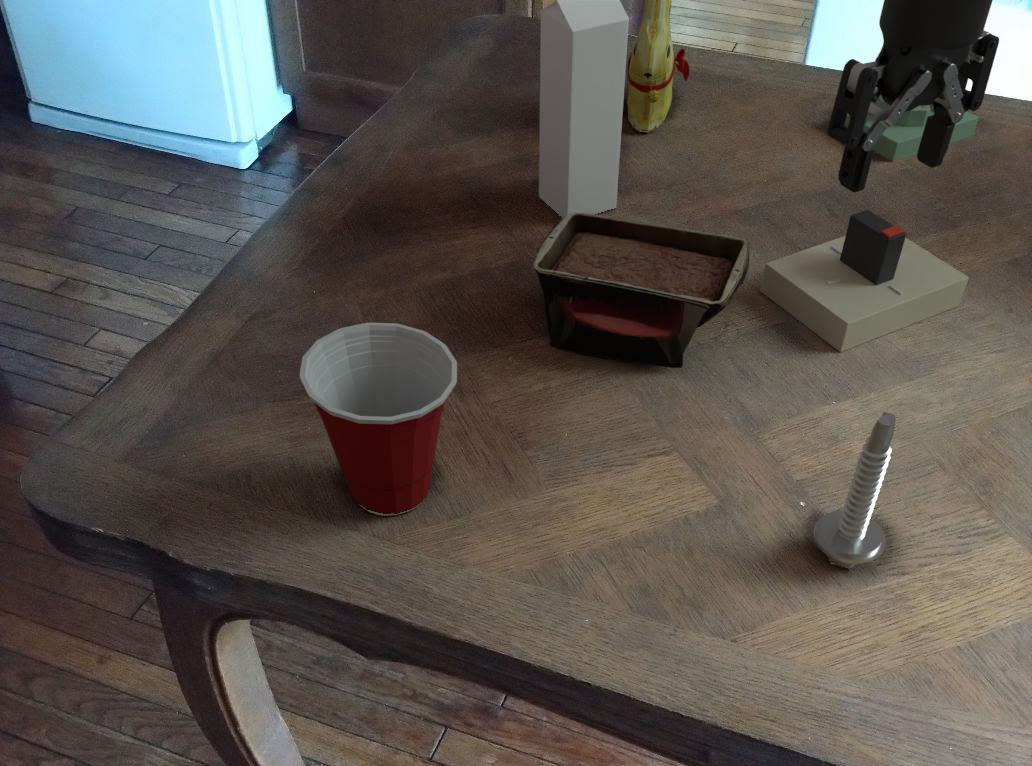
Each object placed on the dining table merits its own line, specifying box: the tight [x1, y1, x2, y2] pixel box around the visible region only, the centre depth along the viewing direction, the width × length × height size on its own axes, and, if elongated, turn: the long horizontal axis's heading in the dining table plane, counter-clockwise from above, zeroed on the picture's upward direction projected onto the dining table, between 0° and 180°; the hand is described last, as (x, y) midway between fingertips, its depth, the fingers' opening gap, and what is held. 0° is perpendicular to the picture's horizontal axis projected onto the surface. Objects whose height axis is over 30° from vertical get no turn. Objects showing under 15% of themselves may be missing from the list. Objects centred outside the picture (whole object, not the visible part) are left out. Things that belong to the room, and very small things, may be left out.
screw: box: [812, 411, 896, 570], centre depth 71 cm, size 13×5×5 cm
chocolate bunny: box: [626, 0, 690, 131], centre depth 118 cm, size 7×11×15 cm, turn 168°
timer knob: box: [840, 209, 907, 285], centre depth 93 cm, size 5×2×5 cm, turn 29°
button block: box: [845, 95, 980, 163], centre depth 119 cm, size 12×10×4 cm
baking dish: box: [532, 212, 751, 369], centre depth 92 cm, size 14×18×10 cm
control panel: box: [760, 235, 970, 353], centre depth 96 cm, size 14×11×3 cm
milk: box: [538, 0, 630, 219], centre depth 102 cm, size 6×6×22 cm
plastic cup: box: [299, 322, 458, 514], centre depth 77 cm, size 11×11×12 cm
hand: (890, 175), depth 89 cm, fingers open, 8 cm apart
